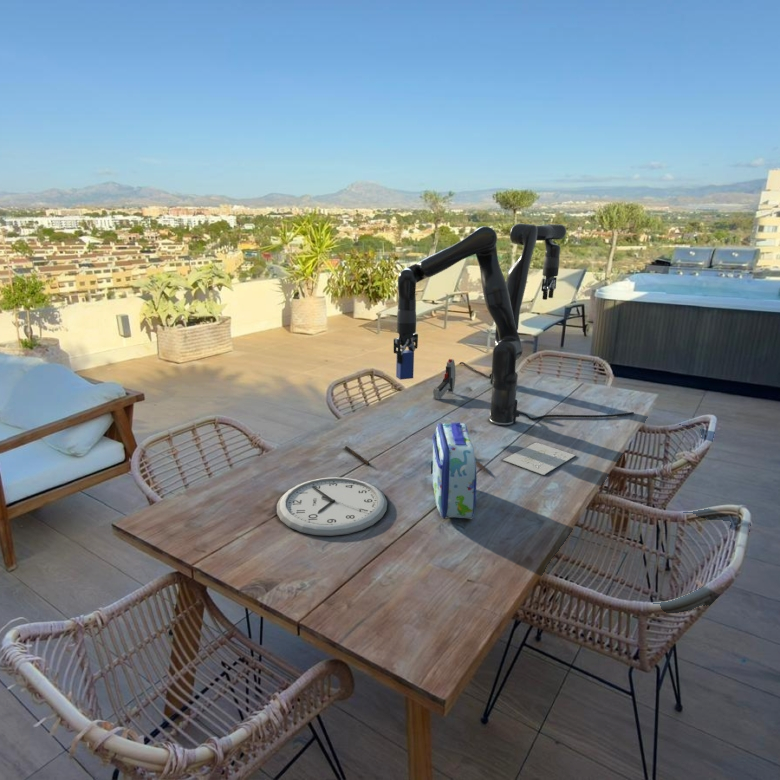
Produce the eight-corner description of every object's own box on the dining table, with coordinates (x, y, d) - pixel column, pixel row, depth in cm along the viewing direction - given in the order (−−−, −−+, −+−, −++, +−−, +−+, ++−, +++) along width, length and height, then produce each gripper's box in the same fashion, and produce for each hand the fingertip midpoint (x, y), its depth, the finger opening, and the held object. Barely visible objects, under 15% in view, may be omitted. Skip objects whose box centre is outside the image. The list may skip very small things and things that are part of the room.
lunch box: (429, 478, 158) (432, 413, 152) (464, 479, 158) (468, 414, 152) (435, 525, 134) (438, 450, 127) (477, 526, 133) (482, 451, 127)
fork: (483, 474, 162) (483, 469, 161) (463, 454, 176) (463, 448, 176) (491, 474, 162) (491, 468, 162) (470, 453, 177) (470, 447, 176)
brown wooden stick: (344, 448, 179) (344, 445, 179) (346, 448, 179) (346, 445, 179) (367, 464, 167) (367, 462, 167) (368, 464, 167) (368, 461, 167)
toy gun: (433, 366, 227) (451, 357, 238) (433, 400, 233) (450, 390, 244) (438, 367, 226) (455, 358, 237) (438, 401, 232) (455, 391, 243)
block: (396, 376, 212) (396, 351, 209) (409, 375, 214) (409, 350, 211) (400, 379, 208) (400, 353, 205) (413, 378, 211) (414, 352, 207)
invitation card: (535, 442, 186) (575, 454, 176) (535, 442, 187) (575, 455, 176) (502, 459, 172) (543, 474, 162) (502, 460, 172) (543, 475, 162)
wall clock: (392, 527, 129) (268, 531, 127) (391, 533, 130) (269, 537, 127) (383, 473, 158) (282, 475, 155) (383, 478, 158) (282, 480, 156)
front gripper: (408, 317, 212) (407, 357, 217) (387, 322, 201) (387, 363, 206) (424, 319, 208) (423, 359, 213) (404, 324, 197) (403, 366, 202)
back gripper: (548, 265, 270) (545, 296, 275) (538, 266, 259) (535, 299, 263) (563, 265, 266) (559, 298, 270) (553, 267, 254) (550, 300, 259)
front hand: (405, 361), depth 209 cm, fingers closed on block, 7 cm apart
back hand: (547, 298), depth 267 cm, fingers open, 8 cm apart
